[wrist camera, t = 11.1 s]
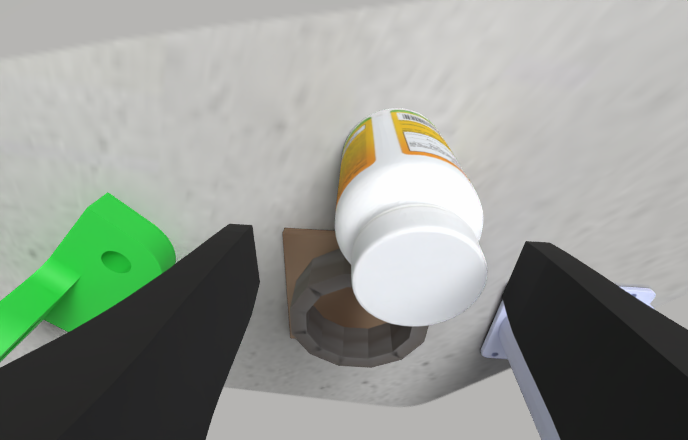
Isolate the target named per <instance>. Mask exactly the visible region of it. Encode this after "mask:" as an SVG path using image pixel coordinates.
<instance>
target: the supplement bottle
mask: <svg viewBox="0 0 688 440" xmlns="http://www.w3.org/2000/svg"><path fill="white" fill-rule="evenodd" d="M482 228H483V211H482V206H481V203H480V200H479V197H478V195H477V193H476V191H475V189H474V187H473V185H472V184H471V182H470V180H469V179H468V177H467V176H466V174H465V172H464V171H463V169H462V168H461V166H460V165H459V163H458V161H457V160H456V158H455V156H454V155H453V153H452V152H451V150H450V148H449V147H448V145H447V144H446V142H445V140H444V139H443V137H442V135H441V134H440V133H439V131H438V130H437V128H436V127H435V126H434V125H433V124H432V123H431V122H430V121H429V120H428V119H427V118H426V117H424V116H423V115H421V114H419V113H417V112H414V111H412V110H408V109H402V108H390V109H384V110H381V111H377V112H375V113H373V114H371V115H369V116H367V117H366V118H364V119H363V120H362V121H361V122H359V123H358V124H357V125H356V126H355V128H354V129H353V130H352V131H351V133H350V134H349V136H348V138H347V140H346V142H345V145H344V149H343V153H342V160H341V170H340V178H339V187H338V195H337V203H336V212H335V234H336V239H337V242H338V245H339V248H340V250H341V252H342V253H343V255H344V256H345V258H346V259H347V260H348V262H349V263H350V264H351V282H352V288H353V292H354V294H355V296H356V299H357V300H358V302H359V303H360V305H361V306H362V307H363V308H364V309H365V310H366V311H367V312H368V313H370V314H372V315H373V316H374V317H376V318H378V319H380V320H383V321H385V322H388V323H391V324H396V325H401V326H428V325H433V324H437V323H441V322H444V321H447V320H449V319H451V318H454V317H456V316H457V315H459V314H461V313H462V312H464V311H465V310H467V309H468V308H469V307H470V306H471V305H472V304H473V303H474V302H475V301H476V300H477V299H478V298H479V296H480V295H481V293H482V291H483V289H484V287H485V285H486V281H487V273H488V270H487V263H486V259H485V257H484V254H483V252H482V250H481V248H480V245H479V243H478V242H479V239H480V237H481V233H482Z"/></svg>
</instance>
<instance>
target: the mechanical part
mask: <svg viewBox="0 0 688 440" xmlns="http://www.w3.org/2000/svg"><path fill="white" fill-rule="evenodd" d="M175 261H176V256H175V251H174V248H173V246H172V244H171V242H170V241H169V239H168V238H167V236H166V235H165V234H164V233H163V232H162V231H161V230H160V229H159V228H158V227H156V226H155V225H154V224H152V223H151V222H150V221H148V220H147V219H145V218H144V217H142V216H141V215H140V214H138V213H137V212H135V211H134V210H132V209H131V208H130V207H128V206H127V205H125V204H124V203H122V202H121V201H120V200H118V199H117V198H115V197H114V196H112V195H111V194H110V193H106V194H105V195H104V196H102V197H101V198H100V199H98V200H97V201H96V202H94V203H93V204H91V205H90V206H89V207H87V209H86V210H85V211H84V213H83V214H82V215H81V217H80V218H79V219H78V221H77V222H76V223H75V225H74V226H73V227H72V229H71V230H70V231H69V233H68V234H67V235H66V237H65V238H64V239H63V241H62V242H61V243H60V245H59V246H58V247H57V249H56V250H55V251H54V253H53V254H52V255H51V257H50V258H49V259H48V260H47V261H46V262H45V263H44V264H43V265H42V266H41V267H40V268H39V269H38V270H37V271H36V272H35V273H34V274H33V275H32V276H30V277H29V278H28V279H27V280H26V281H24V282H23V283H22V284H21V285H19V286H18V287H17V288H16V289H15V290H13V291H12V292H11V293H10V294H8V295H7V296H6V297H5V298H4V299H2V300H1V301H0V362H1V361H2V360H3V359H4V358H5V357H6V356H7V355H8V354H9V353H10V352H11V351H12V350H13V349H14V348H15V347H16V346H17V345H18V344H19V343H20V342H21V341H22V340H23V339H24V338H25V337H26V336H27V335H28V334H29V333H30V332H32V331H33V330H34V329H35V328H36V327H37V326H38V325H39V324H40V323H41V322H42V321H43V320H46V321H47V322H49V323H51V324H53V325H55V326H57V327H59V328H61V329H63V330H65V331H67V332H70V331H71V330H73V329H75V328H77V327H78V326H80V325H82V324H84V323H85V322H87V321H89V320H91V319H92V318H94V317H96V316H97V315H99V314H101V313H102V312H104V311H106V310H107V309H109V308H111V307H112V306H114V305H116V304H117V303H119V302H120V301H122V300H123V299H125V298H127V297H128V296H129V295H131V294H132V293H134V292H135V291H137V290H138V289H140V288H141V287H143V286H144V285H146V284H147V283H149V282H150V281H152V280H153V279H155V278H156V277H158V276H159V275H161V274H162V273H163V272H165V271H166V270H168V269H169V268H171V267H172V266H173V265H175Z"/></svg>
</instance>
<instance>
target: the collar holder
mask: <svg viewBox="0 0 688 440" xmlns="http://www.w3.org/2000/svg"><path fill="white" fill-rule="evenodd" d="M283 245H284V259H285V272H286V286H287V299H288V313H289V326H290V338H295V339H297V340H298V341H299V342H300V344H301V345H302V346H303V347H304V348H305V349H306V350H307V351H308V352H309V353H310V354H312V355H314V356H317V357H319V358H321V359H324V360H326V361H329V362H331V363H333V364H336V365H339V366H354V367H370V368H371V367H375V366H379V365H383V364H387V363H390V362H394V361H398V360H402V359H403V358H404V357H406V356H407V355H408V354H409V353H411V352H412V351H413V350H414V349H416V348H417V347H418V346H419V345H421V344H422V343H423V342H424V340H425V337H426V333H427V329H428V326H429V325H428V326H401V325H396V324H391V323H388V322H385V321H383V320H380V319H378V318H376V317H374V316H373V315H372V314H370V313H368V312H367V311H366V310H365V309H364V308H363V307H362V306H361V305H360V303H359V302H358V300H357V299H356V296H355V294H354V292H353V288H352V282H351V264H350V263H349V262H348V260H347V259H346V258H345V256H344V255H343V253H342V252H341V250H340V248H339V245H338V242H337V239H336V234H335V231H329V230H312V229H295V228H284V231H283Z"/></svg>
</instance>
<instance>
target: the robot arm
mask: <svg viewBox="0 0 688 440" xmlns="http://www.w3.org/2000/svg"><path fill="white" fill-rule="evenodd" d="M259 284H260V280H259V272H258V265H257V257H256V250H255V242H254V235H253V227H252V225H240V224H229V225H227V226H226V227H224V228H223V229H221V230H220V231H219V232H217V233H216V234H215V235H213V236H212V237H211V238H209V239H208V240H207V241H205V242H204V243H203V244H201V245H200V246H199V247H198V248H196V249H195V250H194V251H192V252H191V253H189V254H188V255H187V256H185V257H184V258H183V259H181V260H180V261H179V262H177V263H176V264H175V265H173V266H172V267H171V268H169V269H168V270H166V271H165V272H163V273H162V274H161V275H159V276H158V277H156V278H155V279H153V280H152V281H150V282H149V283H147V284H146V285H144V286H143V287H141V288H140V289H138V290H137V291H135V292H134V293H132V294H131V295H129V296H128V297H127V298H125V299H123V300H122V301H120V302H119V303H117V304H116V305H114V306H112V307H111V308H109V309H107V310H106V311H104V312H102V313H101V314H99V315H97V316H96V317H94V318H92V319H91V320H89V321H87V322H85V323H84V324H82V325H80V326H78V327H77V328H75V329H73V330H71V331H70V332H68V333H66V334H64V335H62V336H61V337H59V338H57V339H55V340H53V341H51V342H49V343H47V344H45V345H43V346H42V347H40V348H38V349H36V350H34V351H32V352H30V353H28V354H26V355H24V356H22V357H20V358H18V359H16V360H14V361H12V362H10V363H8V364H7V365H5V366H3V367H1V368H0V440H206V436H207V433H208V430H209V425H210V423H211V419H212V416H213V413H214V410H215V408H216V405H217V402H218V399H219V396H220V394H221V391H222V389H223V386H224V384H225V381H226V379H227V376H228V374H229V371H230V369H231V366H232V364H233V361H234V359H235V356H236V354H237V351H238V349H239V346H240V344H241V341H242V339H243V336H244V333H245V331H246V328H247V326H248V323H249V320H250V318H251V315H252V311H253V308H254V304H255V300H256V296H257V292H258V288H259ZM655 295H656V294H655V293H654V292H653V291H652V290H651V289H649V288H638V287H621V286H617V285H616V284H614V283H613V282H611V281H610V280H608V279H607V278H605V277H604V276H602V275H601V274H599V273H598V272H596V271H595V270H593V269H592V268H590V267H588V266H587V265H585V264H584V263H582V262H581V261H579V260H578V259H576V258H575V257H573V256H571V255H570V254H568V253H567V252H565V251H563V250H562V249H560V248H558V247H556V246H555V245H553V244H551V243H546V242H529V241H526V242H525V244H524V247H523V249H522V251H521V254H520V256H519V258H518V261H517V263H516V265H515V268H514V270H513V272H512V275H511V277H510V279H509V282H508V284H507V286H506V289H505V291H504V293H503V296H502V299H503V300H502V302H501V304H500V307H499V309H498V311H497V314H496V316H495V318H494V321H493V323H492V325H491V327H490V330H489V332H488V334H487V337H486V339H485V341H484V344H483V346H482V348H481V354H482V356H483V357H486V358H500V359H508V361H509V363H510V366H511V368H512V370H513V373H514V375H515V377H516V380H517V382H518V385H519V387H520V390H521V392H522V394H523V397H524V399H525V402H526V404H527V406H528V409H529V411H530V414H531V416H532V418H533V421H534V423H535V426H536V428H537V430H538V433H539V435H540V437H541V440H688V330H687V329H685V328H684V327H682V326H680V325H679V324H677V323H675V322H674V321H672V320H671V319H669V318H667V317H666V316H664V315H663V314H661V313H659V312H658V311H656V310H655V309H654V308H653V307H652V306H651V305H650V303H651V301H652V300H653V299H654V298H655Z"/></svg>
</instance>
